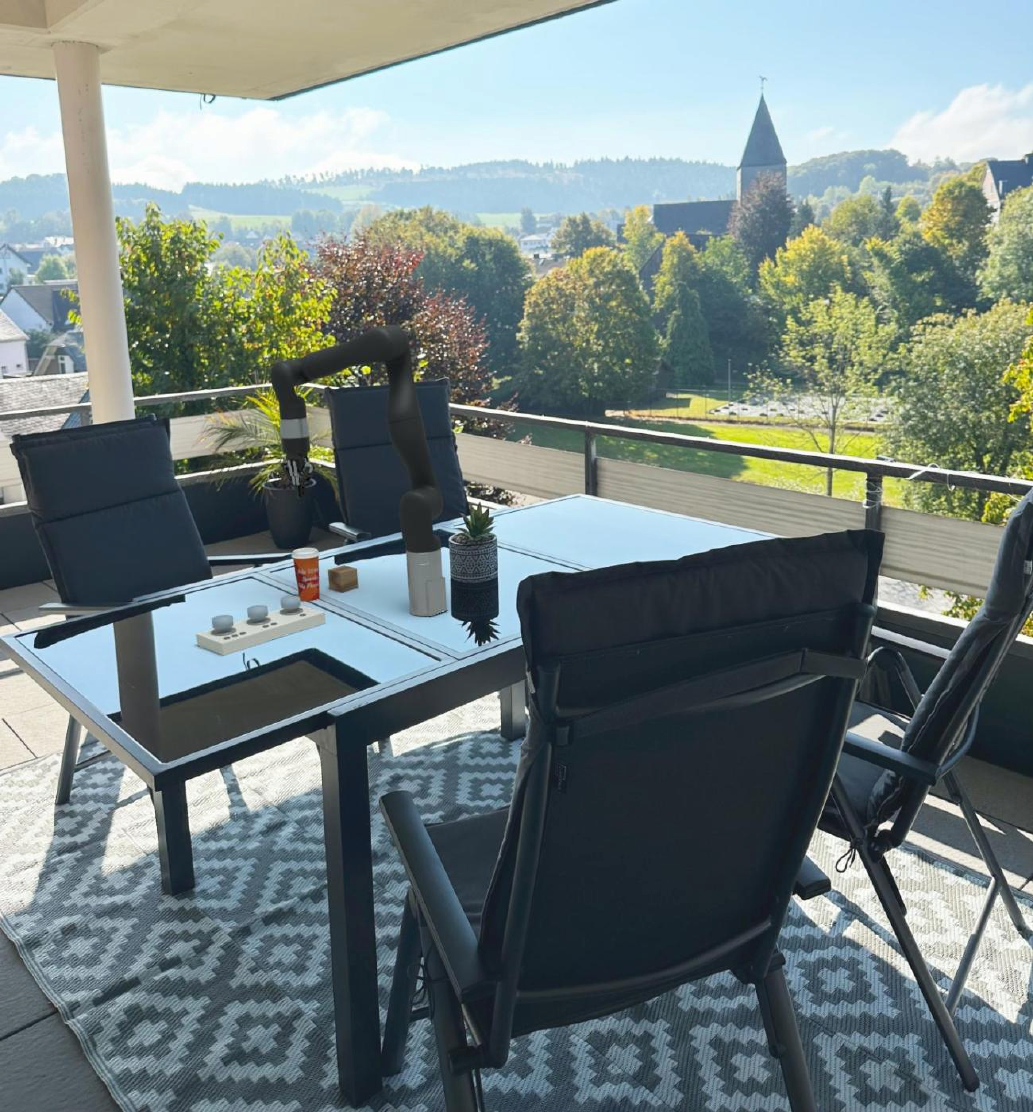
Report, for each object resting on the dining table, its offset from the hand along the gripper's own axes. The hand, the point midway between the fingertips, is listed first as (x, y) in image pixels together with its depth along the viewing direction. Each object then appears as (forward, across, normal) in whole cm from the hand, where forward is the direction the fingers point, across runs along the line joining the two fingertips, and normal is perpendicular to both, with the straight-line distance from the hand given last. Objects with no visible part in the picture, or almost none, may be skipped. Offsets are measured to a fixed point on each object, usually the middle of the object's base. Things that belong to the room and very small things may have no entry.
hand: (300, 497), depth 275 cm
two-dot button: (+24, -14, +26) cm, 38 cm away
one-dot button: (+24, -15, +16) cm, 33 cm away
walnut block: (+29, 0, -12) cm, 31 cm away
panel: (+29, -16, +26) cm, 42 cm away
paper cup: (+29, 0, 0) cm, 29 cm away
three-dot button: (+24, -15, +36) cm, 46 cm away
